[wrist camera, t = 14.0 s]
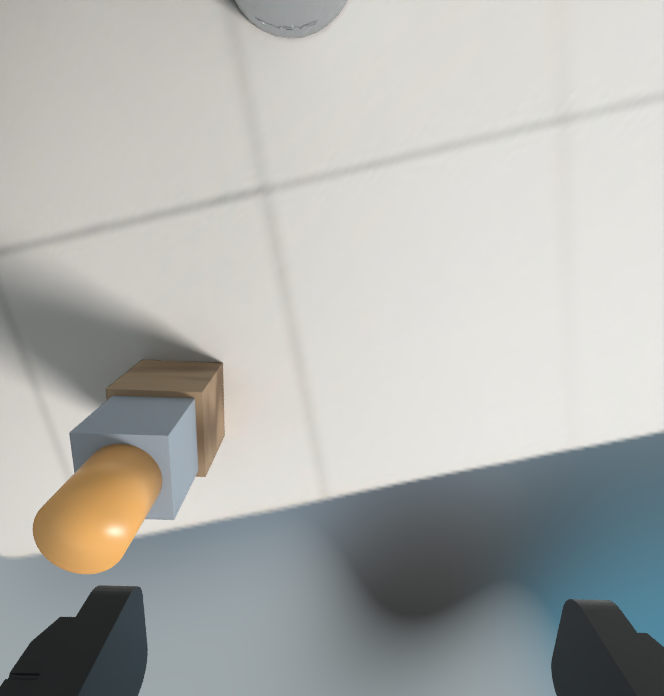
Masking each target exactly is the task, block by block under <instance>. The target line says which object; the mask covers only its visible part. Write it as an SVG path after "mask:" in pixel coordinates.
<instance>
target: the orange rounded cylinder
mask: <svg viewBox="0 0 664 696" xmlns="http://www.w3.org/2000/svg"><path fill="white" fill-rule="evenodd" d="M161 488H162V474H161V470H160V468H159V466H158V464H157V463H156V461H155V460H154V459H153V458H152V457H151V456H150V455H149V454H148V453H146V452H145V451H144V450H142V449H140V448H138V447H135V446H132V445H128V444H111V445H107V446H104V447H102V448H100V449H99V450H97V451H96V452H95V453H94V454H93V455H92V456H91V457H90V458H89V459H88V460H87V461H86V462H85V463H84V464H83V465H82V466H81V467H80V468H79V469H78V470H77V471H76V472H75V473H74V474H73V475H72V476H71V477H70V479H69V480H68V481H67V482H66V483H65V484H64V485H63V486H62V487H61V488H60V489H59V490H58V491H57V492H56V493H55V494H54V495H53V496H52V497H51V498H50V499H49V500H48V501H47V502H46V504H45V505H44V506H43V507H42V508H41V509H40V510H39V511H38V513H37V515H36V517H35V519H34V523H33V536H34V540H35V542H36V545H37V547H38V548H39V550H40V551H41V553H42V554H43V555H44V556H45V557H46V558H47V559H48V560H49V561H50V562H51V563H53V564H54V565H56V566H58V567H60V568H62V569H64V570H66V571H70V572H73V573H78V574H94V573H99V572H103V571H105V570H108V569H110V568H111V567H113V566H114V565H115V564H116V563H118V562H119V560H120V559H121V558H122V556H123V555H124V553H125V551H126V550H127V548H128V546H129V545H130V543H131V541H132V540H133V538H134V536H135V535H136V533H137V531H138V529H139V528H140V526H141V524H142V523H143V521H144V519H145V518H146V516H147V514H148V513H149V511H150V509H151V508H152V506H153V504H154V502H155V501H156V499H157V497H158V496H159V494H160V492H161Z"/></svg>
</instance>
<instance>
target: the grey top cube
mask: <svg viewBox="0 0 664 696" xmlns="http://www.w3.org/2000/svg"><path fill="white" fill-rule="evenodd" d="M69 434H70V442H71V449H72V457H73V465H74V472H76V471H77V470H78V469H79V468H80V467H81V466H82V465H83V464H84V463H85V462H86V461H87V460H88V459H89V458H90V457H91V456H92V455H93V454H94V453H95V452H96V451H97V450H99V449H100V448H102V447H104V446H107V445H111V444H128V445H132V446H135V447H138V448H140V449H142V450H144V451H145V452H146V453H148V454H149V455H150V456H151V457H152V458H153V459H154V460H155V461H156V463H157V464H158V466H159V468H160V470H161V474H162V488H161V492H160V494H159V496H158V497H157V499H156V501H155V502H154V504H153V506H152V508H151V509H150V511H149V513H148V514H147V516H146V518H145V519H161V520H174V519H175V517H176V515H177V513H178V511H179V509H180V507H181V505H182V503H183V501H184V499H185V497H186V495H187V493H188V490H189V488H190V486H191V484H192V482H193V480H194V478H195V476H196V474H197V472H198V453H197V432H196V411H195V398H171V397H139V396H112V397H110V398H109V399H108V400H107V401H106V402H105V403H103V404H102V405H101V406H100V407H99V408H98V409H96V410H95V411H94V412H93V413H92V414H91V415H89V416H88V417H87V418H86V419H85V420H84V421H83V422H81V423H80V424H79V425H78V426H77V427H76V428H74V429H73V430H72V431H71V432H70V433H69Z"/></svg>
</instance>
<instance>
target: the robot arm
mask: <svg viewBox="0 0 664 696" xmlns="http://www.w3.org/2000/svg"><path fill="white" fill-rule="evenodd" d="M234 1H235V2H236V4H237V6H238V7H239V9H240V10H241V12H242V13H243V14H244V15H245V16H246V17H247V18H248V19H249V20H250V21H251V22H252V23H253V24H254V25H256V26H257V27H259V28H260V29H261V30H263V31H265V32H268V33H270V34H272V35H275V36H280V37H286V38H297V37H304V36H307V35H310V34H313V33H316V32H317V31H319V30H321V29H322V28H324V27H326V26H327V25H328V24H329V23H330V22H331V21H332V20H333V19H334V18H335V17H336V16H337V15H338V14H339V13H340V11H341V10H342V8H343V7H344V5H345V4H346V2H347V0H234ZM146 664H147V638H146V626H145V615H144V605H143V594H142V590H141V588H140V587H137V586H97V587H95V588H94V589H93V590H92V592H91V593H90V595H89V596H88V598H87V600H86V601H85V603H84V604H83V606H82V608H81V609H80V611H79V613H78V614H77V616H76V617H59V618H58V619H57V620H56V621H55V622H54V623H53V624H51V625H50V626H49V627H48V628H47V629H46V630H44V631H43V632H42V633H41V634H40V635H39V636H37V637H36V638H35V639H34V640H33V641H32V642H31V643H30V644H29V646H28V647H27V649H26V650H25V651H24V653H23V654H22V656H21V657H20V659H19V660H18V662H17V663H16V664H15V666H14V668H13V669H12V670H11V672H10V675H9V678H8V679H5V680H4V682H3V683H2V685H1V686H0V696H138V694H139V691H140V688H141V685H142V682H143V679H144V674H145V670H146ZM551 669H552V679H553V683H554V688H555V692H556V695H557V696H664V647H663V646H662V645H661V644H659V643H658V642H657V641H656V640H655V639H653V638H652V637H651V636H650V635H648V634H647V633H637V632H636V630H635V629H634V628H633V626H632V625H631V624H630V622H629V621H628V620H627V618H626V617H625V615H624V614H623V613H622V611H621V610H620V609H619V607H618V606H617V605H616V604H615V603H613V602H612V601H609V600H577V599H569V600H567V601H566V602H565V604H564V606H563V611H562V615H561V620H560V624H559V629H558V633H557V638H556V643H555V648H554V652H553V657H552V664H551Z"/></svg>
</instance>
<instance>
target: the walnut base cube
mask: <svg viewBox="0 0 664 696" xmlns="http://www.w3.org/2000/svg"><path fill="white" fill-rule="evenodd" d="M106 396H107V400H108V399H109V398H110V397H112V396H139V397H171V398H195V411H196V432H197V453H198V472H197V474H196V476H198V477H206V475H207V473H208V470H209V468H210V466H211V464H212V462H213V460H214V457H215V455H216V453H217V451H218V449H219V447H220V444H221V442H222V440H223V438H224V436H225V430H224V391H223V363H219V362H191V361H163V360H141V361H140V362H139V363H137V364H136V365H135V366H134V367H132V368H131V369H130V370H129V371H127V372H126V373H125V374H124V375H122V376H121V377H120V378H119V379H117V380H116V381H115V382H114V383H112V384H111V385H110V386H109V387H107V388H106Z"/></svg>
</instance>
